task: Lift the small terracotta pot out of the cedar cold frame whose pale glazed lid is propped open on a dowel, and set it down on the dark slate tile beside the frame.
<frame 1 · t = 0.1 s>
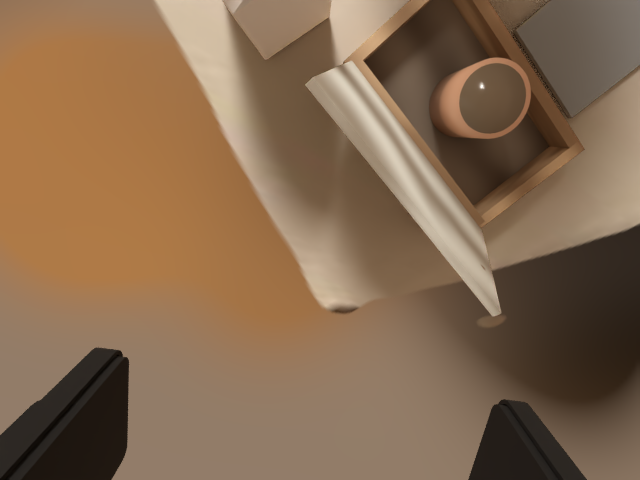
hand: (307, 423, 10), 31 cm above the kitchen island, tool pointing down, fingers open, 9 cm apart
slate tile: (587, 38, 36), on the kitchen island
milk carton: (276, 3, 35), on the kitchen island
pot: (460, 104, 37), resting on cold frame
cold frame: (454, 108, 37), on the kitchen island
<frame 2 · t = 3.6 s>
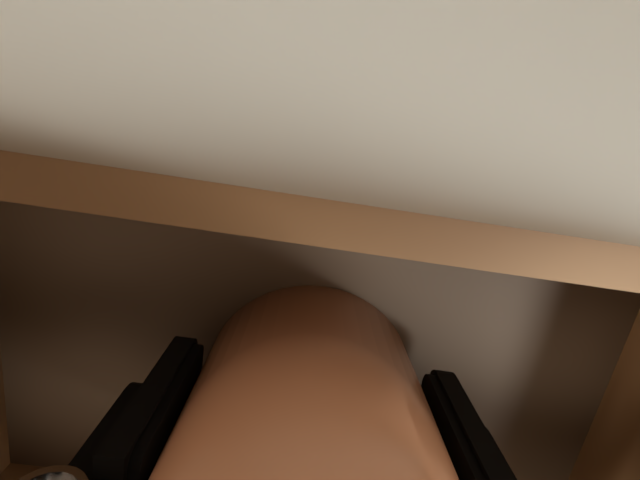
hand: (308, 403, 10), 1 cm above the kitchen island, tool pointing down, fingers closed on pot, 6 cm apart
pot: (309, 378, 11), resting on cold frame, touching gripper
cold frame: (311, 356, 12), on the kitchen island
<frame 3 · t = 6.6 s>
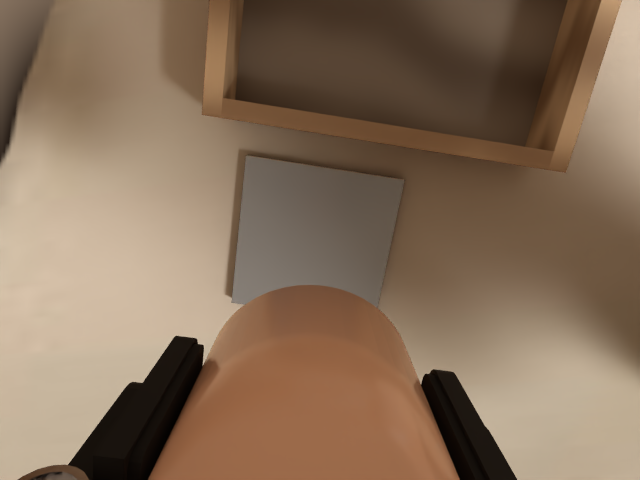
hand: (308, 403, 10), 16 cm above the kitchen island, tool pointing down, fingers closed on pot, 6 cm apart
slate tile: (314, 241, 26), on the kitchen island
pot: (309, 377, 11), point 15 cm above the kitchen island, touching gripper
cold frame: (397, 37, 22), on the kitchen island
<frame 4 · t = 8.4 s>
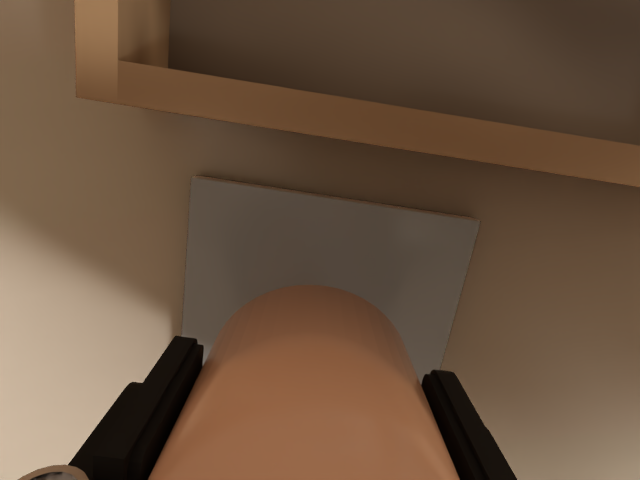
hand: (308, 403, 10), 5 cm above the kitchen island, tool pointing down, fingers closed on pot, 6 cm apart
slate tile: (316, 322, 15), on the kitchen island
pot: (309, 377, 11), point 4 cm above the kitchen island, touching gripper
when the fingers open (3 cm above the kitchen island, at t = 9.7 s): pot drops 1 cm, resting on slate tile.
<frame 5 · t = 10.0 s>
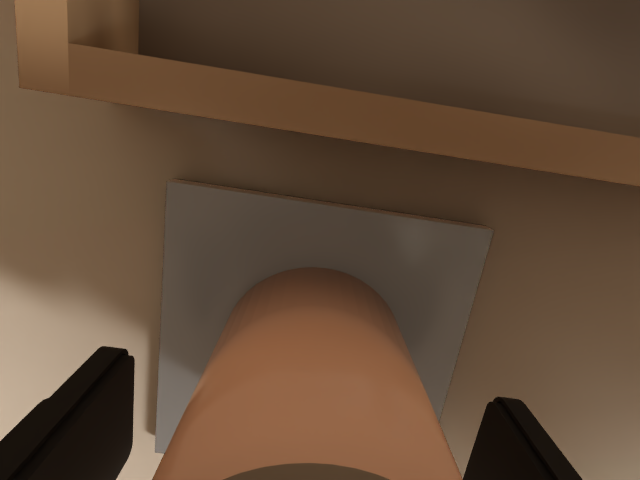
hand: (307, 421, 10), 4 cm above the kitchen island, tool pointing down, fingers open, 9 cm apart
slate tile: (310, 341, 13), on the kitchen island
pot: (312, 351, 13), point 1 cm above the kitchen island, touching slate tile
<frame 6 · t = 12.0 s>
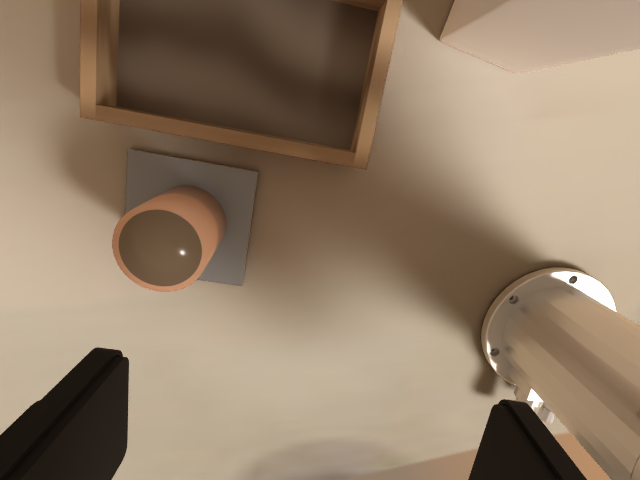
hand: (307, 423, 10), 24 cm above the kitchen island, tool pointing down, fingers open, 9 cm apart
slate tile: (190, 220, 32), on the kitchen island
milk carton: (498, 10, 29), on the kitchen island
pot: (189, 222, 31), point 1 cm above the kitchen island, touching slate tile
cold frame: (246, 60, 29), on the kitchen island
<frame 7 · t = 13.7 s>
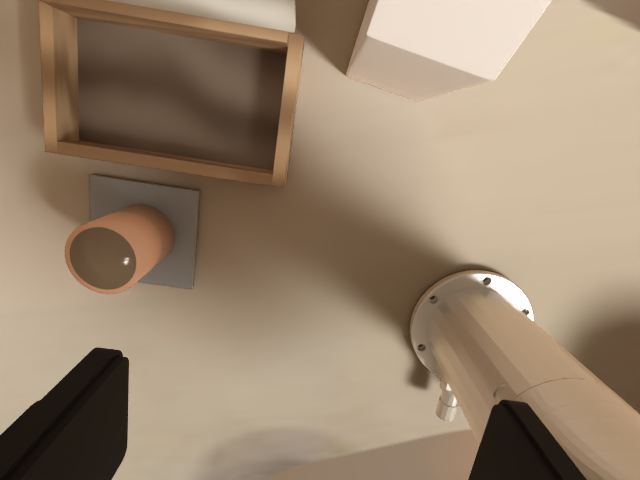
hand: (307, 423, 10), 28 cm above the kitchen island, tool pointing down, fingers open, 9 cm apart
slate tile: (145, 233, 37), on the kitchen island
milk carton: (396, 48, 33), on the kitchen island
pot: (143, 235, 37), point 1 cm above the kitchen island, touching slate tile
cold frame: (183, 98, 34), on the kitchen island
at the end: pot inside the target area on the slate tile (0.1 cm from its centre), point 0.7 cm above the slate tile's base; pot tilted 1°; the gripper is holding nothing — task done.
